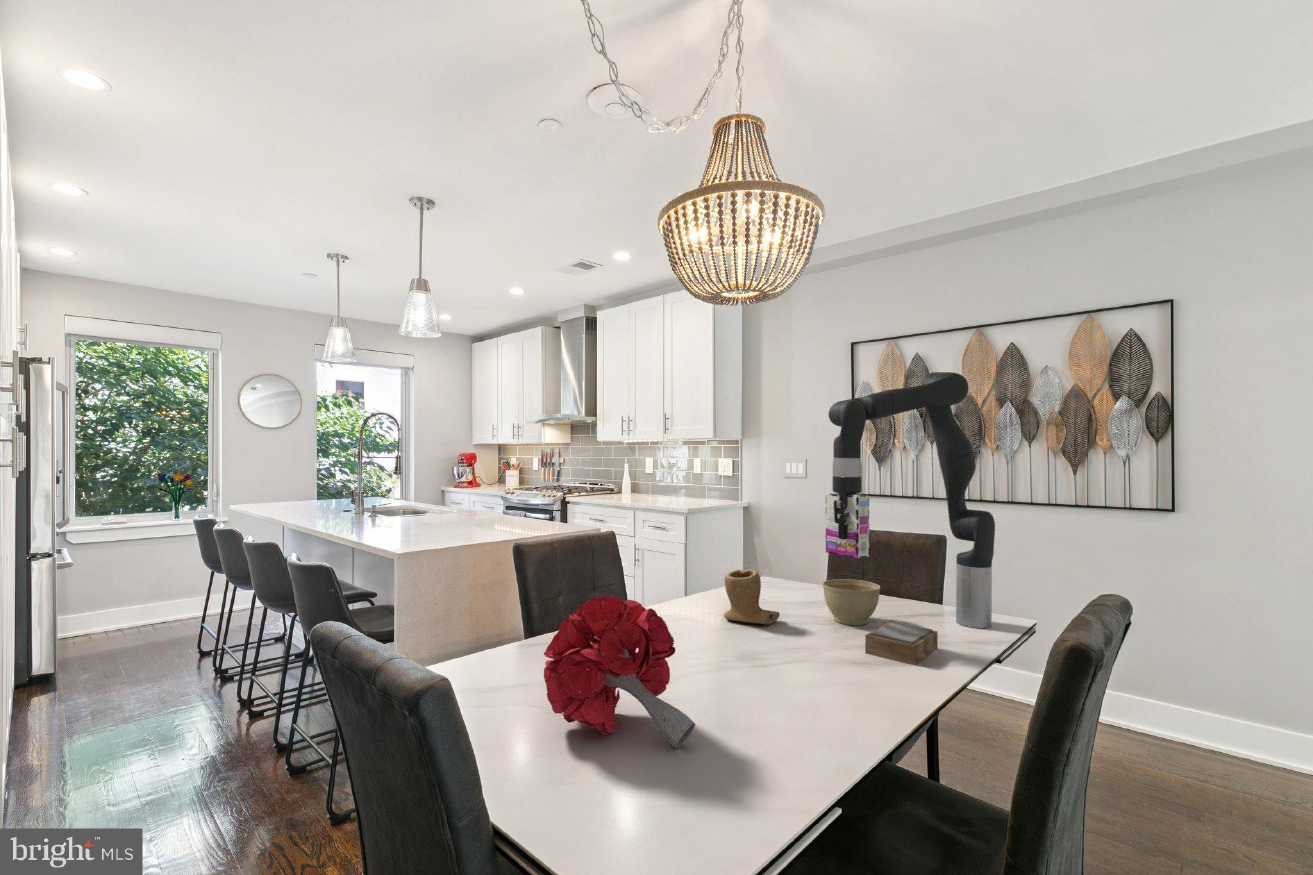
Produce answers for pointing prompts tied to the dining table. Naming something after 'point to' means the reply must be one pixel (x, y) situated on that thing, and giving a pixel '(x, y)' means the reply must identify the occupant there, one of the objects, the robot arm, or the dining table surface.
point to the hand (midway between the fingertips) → (847, 537)
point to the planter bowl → (851, 600)
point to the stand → (901, 642)
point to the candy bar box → (849, 527)
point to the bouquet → (613, 666)
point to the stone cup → (746, 598)
